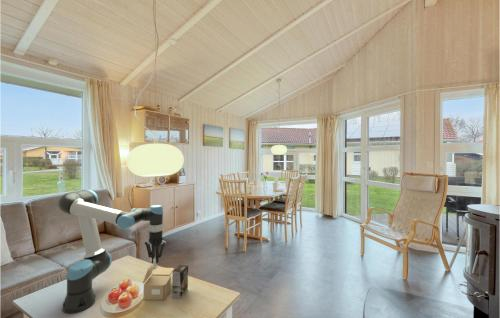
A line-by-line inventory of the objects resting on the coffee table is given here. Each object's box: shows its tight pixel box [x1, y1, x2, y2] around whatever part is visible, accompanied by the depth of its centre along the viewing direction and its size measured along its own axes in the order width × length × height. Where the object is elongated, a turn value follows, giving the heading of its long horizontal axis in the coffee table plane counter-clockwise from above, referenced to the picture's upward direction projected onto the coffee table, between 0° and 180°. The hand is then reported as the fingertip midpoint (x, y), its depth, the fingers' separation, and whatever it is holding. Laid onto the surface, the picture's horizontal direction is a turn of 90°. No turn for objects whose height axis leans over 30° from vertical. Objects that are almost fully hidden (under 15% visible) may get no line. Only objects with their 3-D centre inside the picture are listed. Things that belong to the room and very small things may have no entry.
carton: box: [143, 267, 175, 301], centre depth 146 cm, size 13×20×10 cm, turn 0°
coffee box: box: [171, 264, 189, 300], centre depth 142 cm, size 9×6×16 cm
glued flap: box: [142, 263, 154, 284], centre depth 141 cm, size 1×10×9 cm, turn 1°
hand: (155, 268), depth 141 cm, fingers closed
